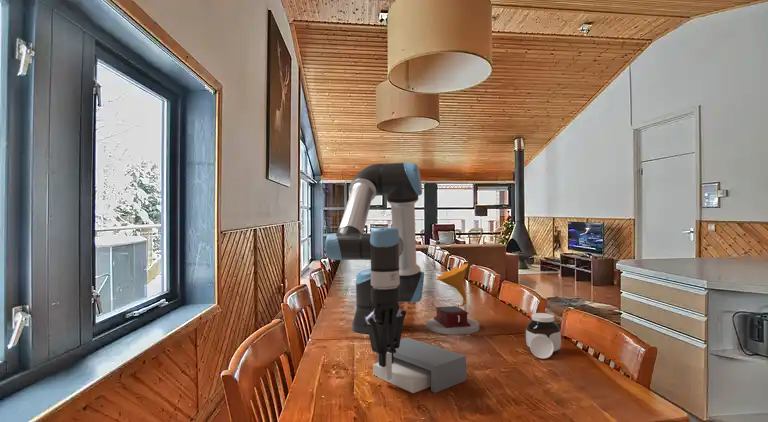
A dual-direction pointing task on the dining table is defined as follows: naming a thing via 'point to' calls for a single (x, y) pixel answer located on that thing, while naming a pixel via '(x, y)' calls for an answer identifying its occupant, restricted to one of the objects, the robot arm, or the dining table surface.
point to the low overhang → (433, 362)
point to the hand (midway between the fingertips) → (386, 377)
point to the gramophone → (453, 308)
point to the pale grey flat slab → (406, 375)
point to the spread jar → (543, 335)
